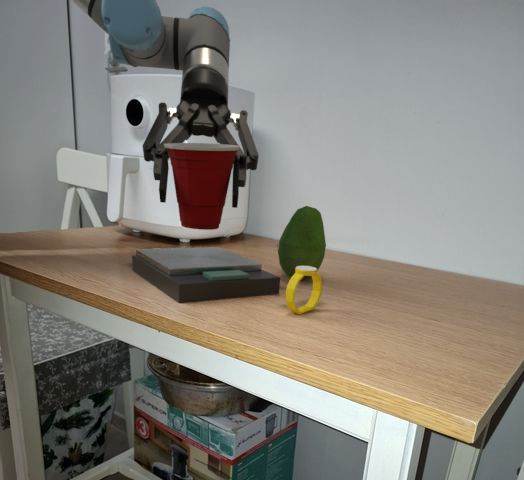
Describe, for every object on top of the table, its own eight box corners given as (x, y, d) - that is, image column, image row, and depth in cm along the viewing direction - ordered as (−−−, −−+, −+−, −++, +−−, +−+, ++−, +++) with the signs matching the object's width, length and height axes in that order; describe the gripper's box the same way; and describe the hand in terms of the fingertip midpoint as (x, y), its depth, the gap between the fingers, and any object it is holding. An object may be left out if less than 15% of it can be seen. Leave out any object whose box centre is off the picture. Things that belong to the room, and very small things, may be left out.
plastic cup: (148, 222, 74) (148, 136, 69) (202, 220, 81) (205, 142, 77) (194, 235, 67) (197, 140, 63) (248, 231, 75) (255, 146, 70)
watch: (308, 305, 68) (313, 263, 65) (323, 310, 66) (329, 267, 64) (279, 312, 64) (283, 267, 61) (295, 318, 62) (300, 272, 60)
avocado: (330, 282, 82) (340, 209, 77) (292, 285, 78) (300, 208, 73) (303, 272, 88) (310, 203, 83) (266, 274, 84) (272, 202, 79)
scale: (132, 270, 79) (131, 248, 77) (220, 266, 87) (220, 246, 86) (178, 302, 64) (179, 276, 63) (278, 293, 72) (281, 270, 71)
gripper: (270, 114, 83) (272, 220, 74) (137, 101, 81) (123, 210, 72) (276, 74, 76) (279, 186, 67) (131, 59, 74) (115, 173, 65)
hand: (199, 198), depth 70 cm, fingers closed on plastic cup, 10 cm apart
